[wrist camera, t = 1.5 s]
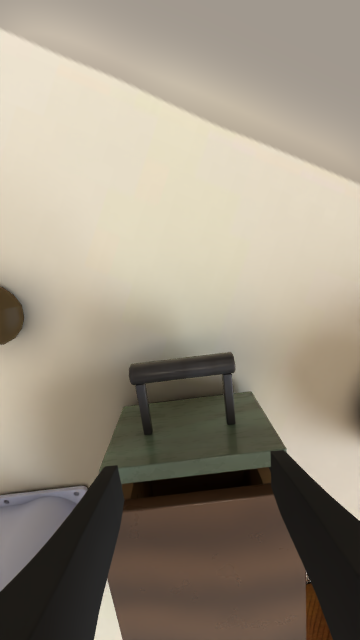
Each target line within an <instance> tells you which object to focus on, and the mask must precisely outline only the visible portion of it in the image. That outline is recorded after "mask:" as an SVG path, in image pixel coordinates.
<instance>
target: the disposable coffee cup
mask: <svg viewBox="0 0 360 640" xmlns="http://www.w3.org/2000/svg"><path fill="white" fill-rule="evenodd" d="M306 640H333V639H332V636H331V633H330V630H329V628H328V625H327V622H326V620H325V617H324V614H323V612H322V609H321V606H320V604H319V601H318V598H317V596H316V593H315V591H314V588H313V586H312V584H311V583H310V584H307V585H306Z"/></svg>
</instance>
